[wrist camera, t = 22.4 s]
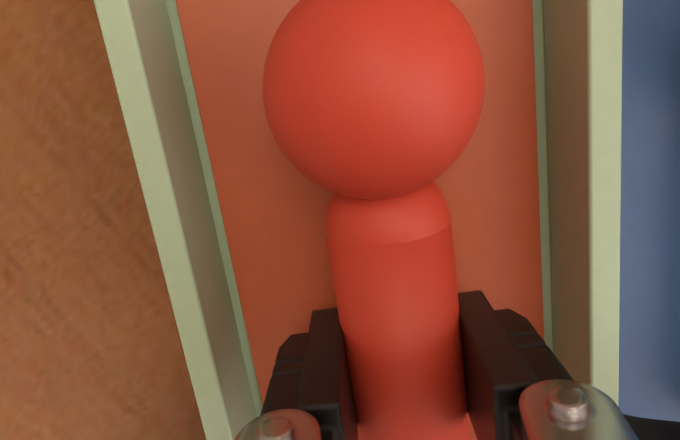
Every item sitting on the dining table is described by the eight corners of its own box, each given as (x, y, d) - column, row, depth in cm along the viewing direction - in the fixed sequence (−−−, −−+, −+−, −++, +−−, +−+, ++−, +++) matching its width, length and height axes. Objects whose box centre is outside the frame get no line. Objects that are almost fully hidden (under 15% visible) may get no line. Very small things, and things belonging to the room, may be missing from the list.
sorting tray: (270, 542, 14) (254, 633, 12) (122, -103, 10) (49, -164, 8) (871, 485, 13) (986, 573, 11) (1007, -260, 9) (1248, -387, 7)
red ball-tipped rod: (488, 472, 12) (542, 627, 9) (347, 486, 12) (345, 642, 9) (450, -20, 9) (510, -87, 6) (265, 10, 9) (213, -35, 6)
